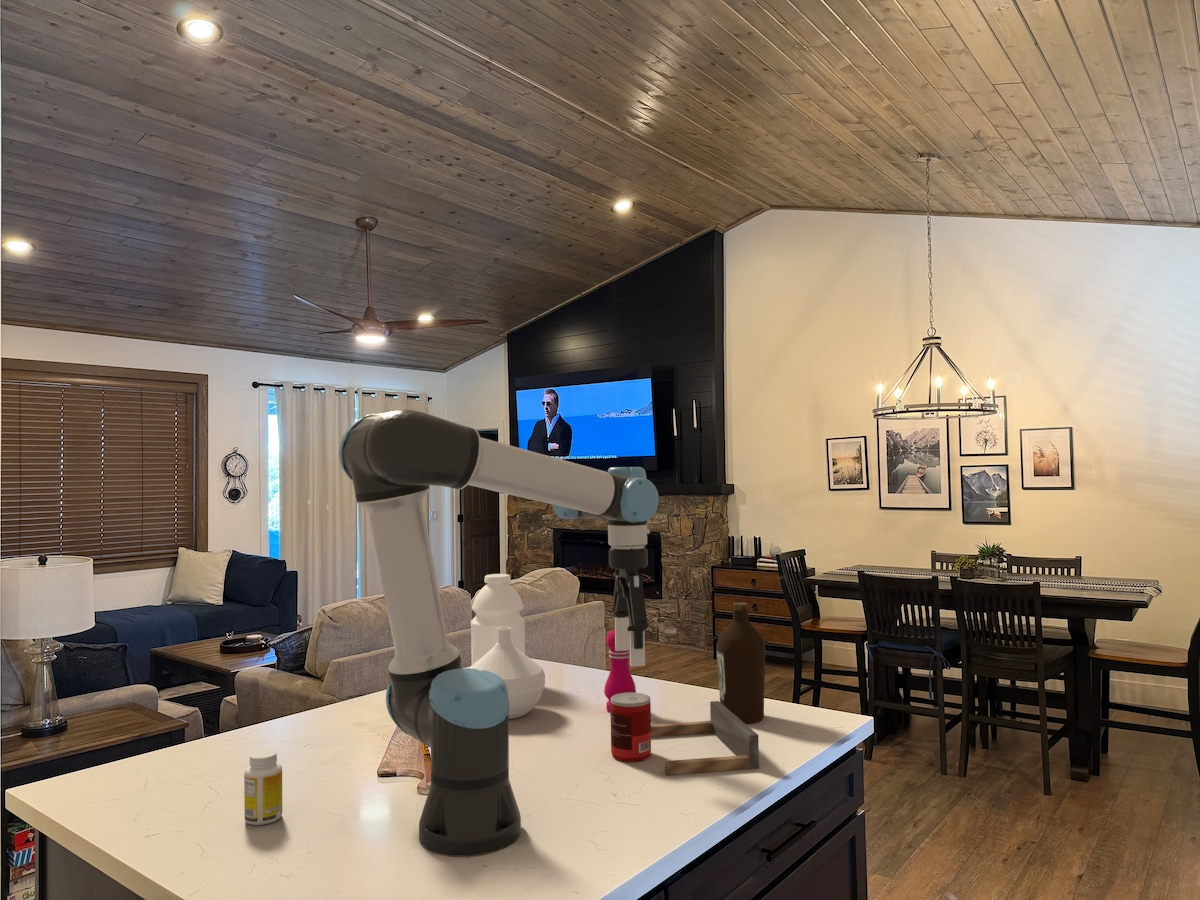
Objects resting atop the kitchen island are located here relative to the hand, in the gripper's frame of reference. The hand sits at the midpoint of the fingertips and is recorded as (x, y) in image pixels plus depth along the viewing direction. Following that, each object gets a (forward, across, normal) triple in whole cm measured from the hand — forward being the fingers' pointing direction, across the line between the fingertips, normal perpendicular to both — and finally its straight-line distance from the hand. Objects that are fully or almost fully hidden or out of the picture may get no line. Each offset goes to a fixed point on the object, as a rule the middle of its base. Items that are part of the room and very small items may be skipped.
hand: (629, 657), depth 159 cm
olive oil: (+19, +19, -29) cm, 39 cm away
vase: (+19, +33, +22) cm, 44 cm away
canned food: (+19, 0, 0) cm, 19 cm away
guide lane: (+18, 0, -12) cm, 22 cm away
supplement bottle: (+18, -17, +63) cm, 68 cm away
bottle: (+19, +59, +22) cm, 66 cm away
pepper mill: (+19, +30, -4) cm, 35 cm away
